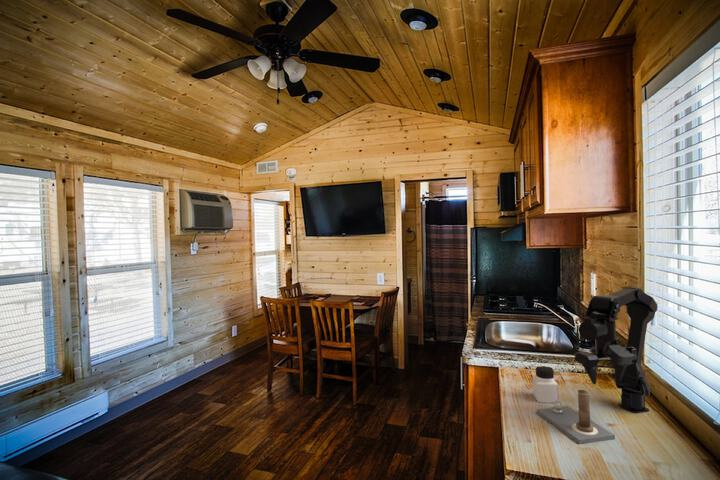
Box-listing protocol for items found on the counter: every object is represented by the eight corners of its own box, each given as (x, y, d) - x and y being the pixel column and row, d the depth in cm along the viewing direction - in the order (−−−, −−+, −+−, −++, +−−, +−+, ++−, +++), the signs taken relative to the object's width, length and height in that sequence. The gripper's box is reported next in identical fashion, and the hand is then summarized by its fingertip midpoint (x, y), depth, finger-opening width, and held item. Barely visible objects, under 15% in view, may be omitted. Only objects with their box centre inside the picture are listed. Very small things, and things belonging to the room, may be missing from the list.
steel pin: (558, 408, 130) (558, 399, 130) (565, 413, 127) (565, 403, 127) (550, 409, 130) (550, 400, 130) (557, 414, 127) (556, 404, 127)
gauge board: (567, 409, 133) (567, 405, 133) (614, 438, 113) (614, 434, 113) (536, 413, 131) (536, 409, 130) (579, 444, 111) (579, 439, 111)
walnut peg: (588, 424, 119) (587, 388, 119) (596, 432, 114) (595, 395, 114) (573, 424, 119) (572, 388, 119) (580, 432, 115) (579, 395, 115)
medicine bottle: (558, 403, 137) (557, 371, 137) (537, 402, 138) (536, 370, 138) (552, 395, 144) (551, 364, 144) (533, 394, 145) (532, 363, 145)
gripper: (599, 344, 113) (601, 395, 113) (652, 339, 116) (654, 389, 116) (572, 334, 124) (574, 381, 124) (621, 330, 127) (623, 376, 127)
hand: (606, 382), depth 123 cm, fingers open, 9 cm apart
